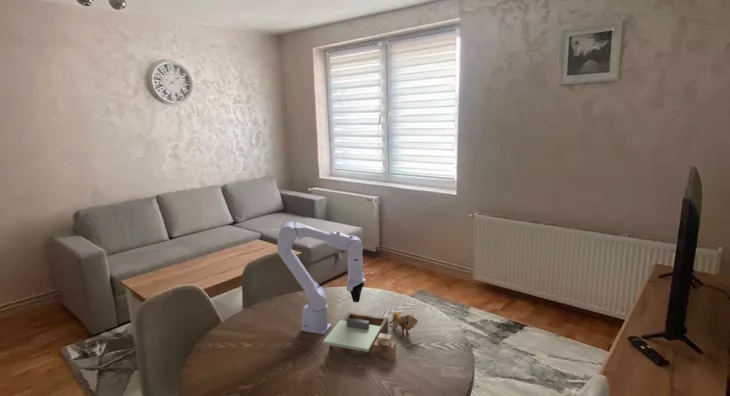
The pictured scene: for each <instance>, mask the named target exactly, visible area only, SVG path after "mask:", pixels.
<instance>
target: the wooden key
mask: <svg viewBox="0 0 730 396" xmlns="http://www.w3.org/2000/svg"><path fill="white" fill-rule="evenodd" d="M391 341H392V334H389V333H386V334H383V333H380V334H379V336H378V344H380V345H386V346H389V345H390V344H391Z"/></svg>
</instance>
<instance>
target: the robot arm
mask: <svg viewBox="0 0 730 396" xmlns="http://www.w3.org/2000/svg"><path fill="white" fill-rule="evenodd" d="M306 237H307V238H311V239H314V240H319V241H322V242H327V245H328V246H329V247H333V248H335V249H339V250H342V251H347V252H348V253H347V285H346V291H347V292H349V293H350V295H351V298H352V302H353V303H359V302H360V299H361V294H362V291H363V287H364V286H365V283H366V282H367V279H366V278H365V272H364V266H363V265H364V261H363V259H364V257H363V251H364V245H363V242H362V239H361V238H360V237H359V236H356V235H353V234H349V235H348V234H345V233H341V231H340V230H338V229H337V230H336V231H335V230H333V231H330V232H327V231H324V230H321V229H318V228H315V227H313V226H310V225H307V224H303V223H301V222H297V221H296V222H294V221H292V220H286V221H284V222H283V223H282V224H281V226H280V229H279V232H278V236H277V239H276V240H277V254H278V255H279V257H280V258H281V260H282V261H283V263H284V264H285V265H286V267H287V269H289V271H290V273H291V274H292V275H293V277H294V278H295V279H296V281H297V282H298V283H299V285H300V287H301V288H302V289H303V291H304V294H305V296H306V298H307V300H308V302H309V303H308V304H305V305H304V307H303V308H302V312H301V325H302V326H301V329H300V330H301V331H303V332H308V333H314V334H318V335H325V334H326V333H327V331H328V330H329V329H330V328H331V326H332V323H328V321H329V319H328V317H329V315H328V304H327V297H326V295H327V292H326V290H325V288H324V287H322V286H320V285H319V283H318V282H316V281H315V280H314V278H312V276H311V274H310V272H308V271H307V269H306V267H305V266H304V265H303V263H302V262H301V260H300V259H299V258H298V256H297V255H296V253H295V252H294V250H293V249H292V247H293V245H294V243H295V241H296V239H297V240H298V241H299V240H302V239H304V238H306Z"/></svg>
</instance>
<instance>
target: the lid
mask: <svg viewBox="0 0 730 396" xmlns="http://www.w3.org/2000/svg"><path fill="white" fill-rule="evenodd" d="M381 329H382V326H375V325H369V321H367V320H360V319H354V318H348V319H347V321H343V319H342V320H341V319H340V320H339V321H338V322H337V323H336V325H335V326H334V327H333V329H331V331H330V332H329V333H328V335H327V336H326V337H325V338H324V339H323V341H322V344H323V345H326V346H329V345H332V346H338V347H343V348H349V349H355V350H360V351H366V352H368V351H369V350H370V348H371V346H372V345H373V343H374V341H375V339H376V338H377V336H378V334H379V333H380V331H381Z"/></svg>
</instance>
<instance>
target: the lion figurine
mask: <svg viewBox="0 0 730 396" xmlns="http://www.w3.org/2000/svg"><path fill="white" fill-rule="evenodd" d="M418 322H419V320H418V318H415V315H414V314H407V315H403V316H402V314H401V312H398V311H395V312H394V313H393V314H392V320H391V321H390V322H389V321H388V325H390V324H392V331H396V328H395V327H397V326H399V327H400V330H401V338H403V339H404V338H405V337H406V335H407V336H410V332H409V331H410V330H412V329H414V327H415V326H416V325H417V323H418Z"/></svg>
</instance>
